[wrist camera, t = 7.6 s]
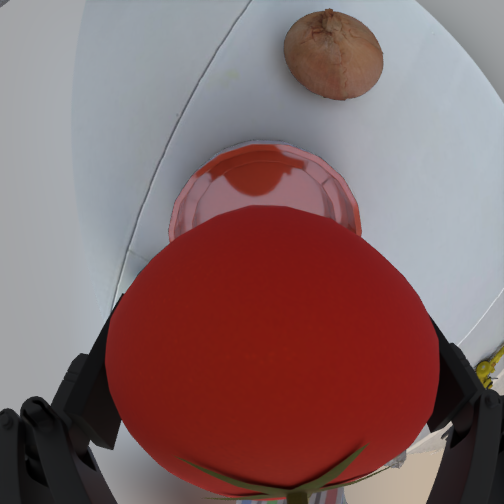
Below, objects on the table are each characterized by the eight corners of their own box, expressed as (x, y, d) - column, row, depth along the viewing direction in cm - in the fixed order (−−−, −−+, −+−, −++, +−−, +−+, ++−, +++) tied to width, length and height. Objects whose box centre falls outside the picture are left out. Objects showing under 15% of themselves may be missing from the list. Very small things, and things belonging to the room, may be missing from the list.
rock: (357, 442, 62) (390, 470, 49) (380, 420, 64) (414, 445, 51) (363, 453, 69) (390, 476, 56) (383, 434, 71) (411, 456, 59)
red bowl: (177, 141, 27) (161, 147, 22) (350, 145, 28) (372, 152, 23) (189, 290, 36) (181, 319, 31) (331, 289, 37) (343, 317, 31)
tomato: (279, 384, 18) (292, 522, 9) (120, 296, 14) (43, 464, 5) (408, 280, 14) (505, 426, 5) (246, 123, 10) (252, 152, 1)
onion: (289, 48, 25) (269, -6, 16) (368, 46, 22) (374, -10, 13) (296, 116, 26) (277, 71, 17) (384, 115, 23) (404, 69, 14)
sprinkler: (471, 411, 54) (470, 397, 46) (462, 395, 60) (458, 379, 52) (512, 373, 49) (519, 351, 41) (502, 359, 56) (505, 334, 48)
